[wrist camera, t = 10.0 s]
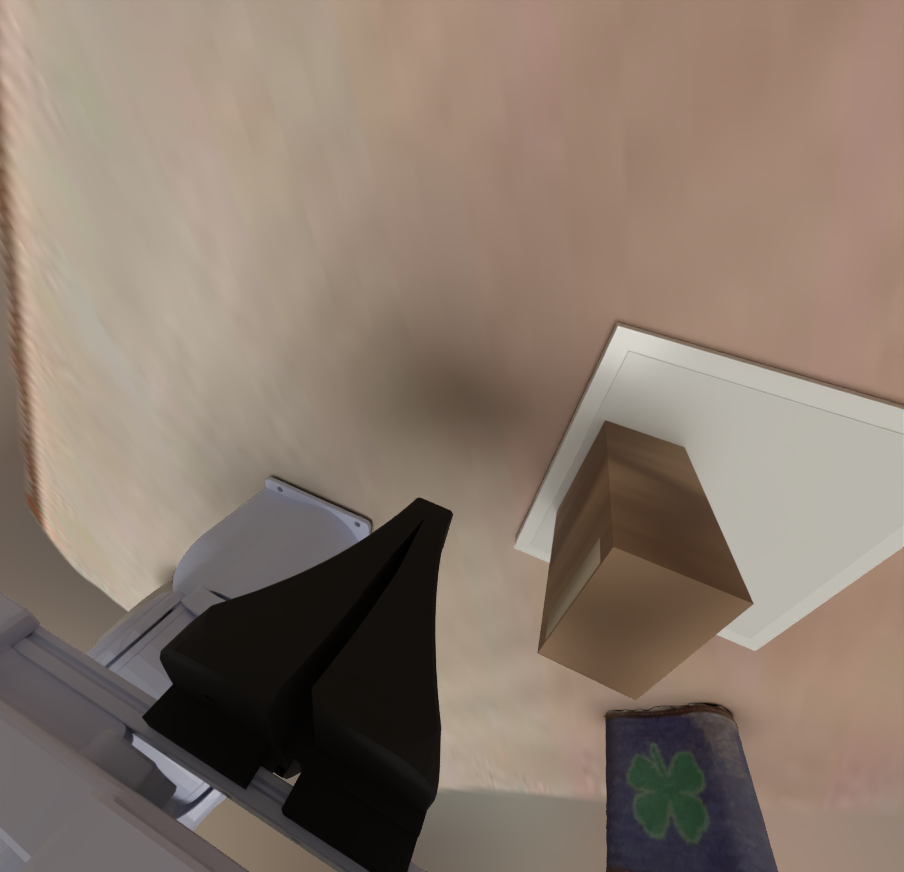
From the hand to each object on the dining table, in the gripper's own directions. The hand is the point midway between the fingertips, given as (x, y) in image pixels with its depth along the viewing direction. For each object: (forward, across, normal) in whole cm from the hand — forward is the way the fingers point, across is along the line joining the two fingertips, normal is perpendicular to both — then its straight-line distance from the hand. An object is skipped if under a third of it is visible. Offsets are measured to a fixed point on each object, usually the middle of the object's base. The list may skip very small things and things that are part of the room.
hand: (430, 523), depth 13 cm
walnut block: (+7, -7, 0) cm, 10 cm away
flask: (+8, -19, +18) cm, 27 cm away
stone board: (+8, -11, 0) cm, 14 cm away
